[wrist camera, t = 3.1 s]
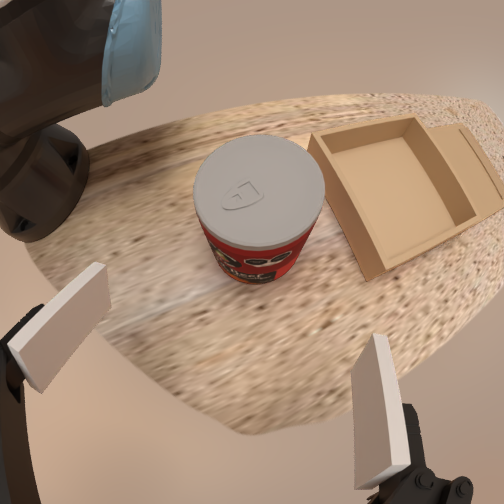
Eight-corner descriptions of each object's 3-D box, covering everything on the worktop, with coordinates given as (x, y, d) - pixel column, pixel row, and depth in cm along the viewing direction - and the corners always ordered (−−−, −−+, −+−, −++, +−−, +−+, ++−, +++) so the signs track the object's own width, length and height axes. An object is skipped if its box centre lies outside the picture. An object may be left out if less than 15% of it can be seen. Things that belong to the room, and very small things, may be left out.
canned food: (197, 250, 27) (165, 194, 17) (253, 191, 29) (253, 115, 18) (261, 304, 26) (267, 278, 15) (315, 238, 27) (349, 178, 17)
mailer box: (366, 281, 26) (386, 270, 22) (304, 159, 30) (311, 132, 26) (509, 203, 29) (528, 190, 25) (461, 124, 33) (474, 106, 29)
